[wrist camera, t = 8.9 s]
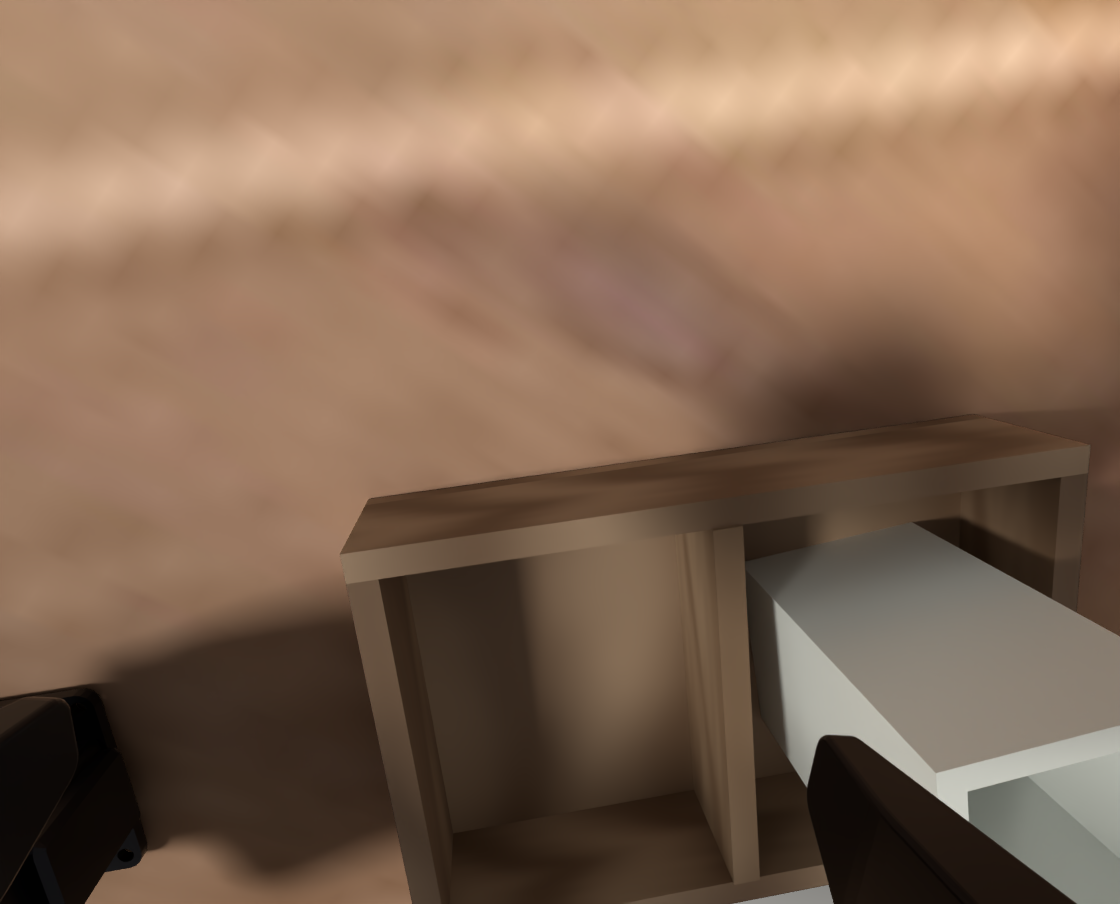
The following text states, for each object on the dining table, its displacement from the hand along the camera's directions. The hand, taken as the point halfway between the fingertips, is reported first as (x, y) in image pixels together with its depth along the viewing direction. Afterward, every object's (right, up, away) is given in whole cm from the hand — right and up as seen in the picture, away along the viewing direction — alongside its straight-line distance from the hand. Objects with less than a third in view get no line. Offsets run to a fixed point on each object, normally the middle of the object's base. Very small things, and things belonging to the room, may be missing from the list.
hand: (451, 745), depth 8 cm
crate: (+6, -3, +15) cm, 17 cm away
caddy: (+11, -2, +15) cm, 19 cm away
